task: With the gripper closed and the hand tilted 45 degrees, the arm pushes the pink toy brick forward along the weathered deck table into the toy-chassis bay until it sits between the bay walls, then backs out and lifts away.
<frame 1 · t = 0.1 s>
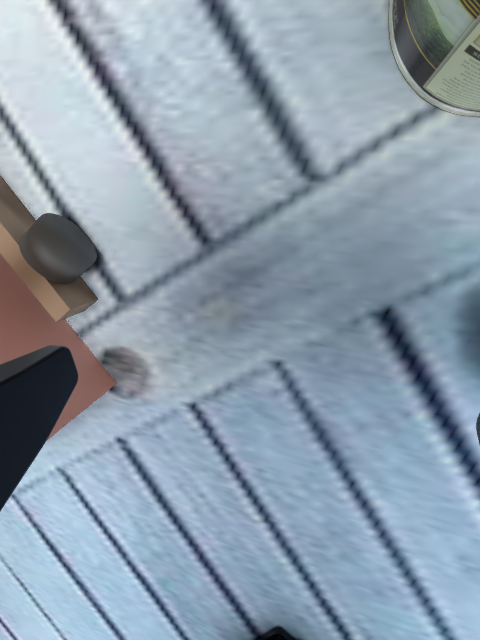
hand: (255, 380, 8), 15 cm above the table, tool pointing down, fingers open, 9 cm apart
pink toy brick: (16, 339, 29), on the table
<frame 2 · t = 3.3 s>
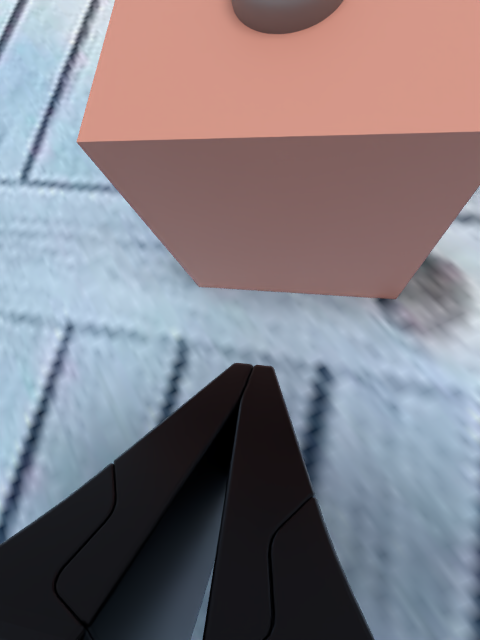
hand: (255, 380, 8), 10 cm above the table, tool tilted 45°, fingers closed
pink toy brick: (304, 167, 20), on the table
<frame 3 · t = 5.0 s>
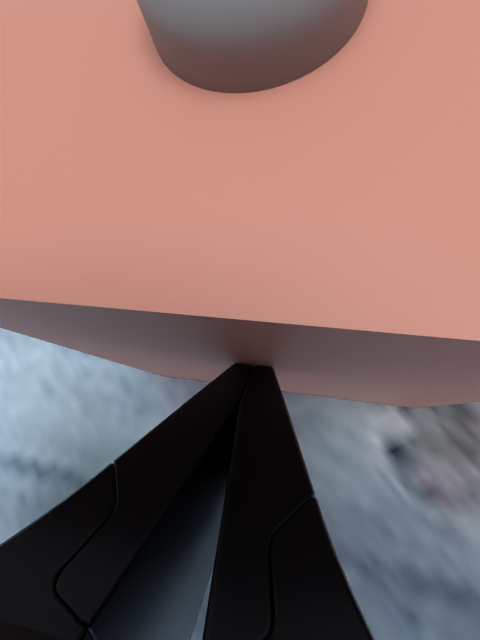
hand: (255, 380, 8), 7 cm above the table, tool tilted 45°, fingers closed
pink toy brick: (298, 221, 16), on the table, touching gripper
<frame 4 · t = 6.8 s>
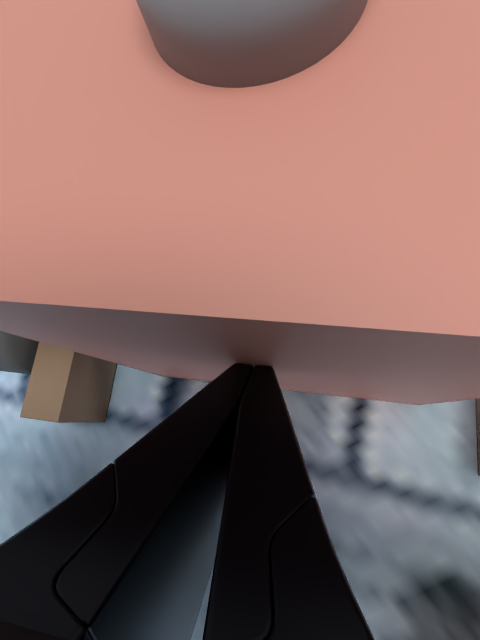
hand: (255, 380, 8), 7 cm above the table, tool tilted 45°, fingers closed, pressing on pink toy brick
chassis bay: (292, 229, 16), on the table
pink toy brick: (297, 218, 16), resting in chassis bay, touching gripper
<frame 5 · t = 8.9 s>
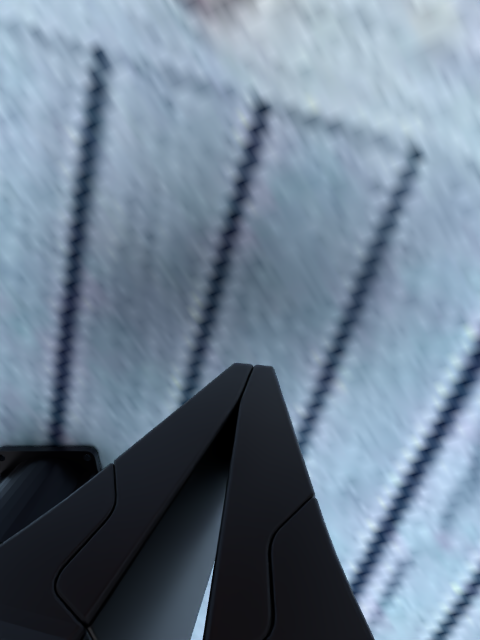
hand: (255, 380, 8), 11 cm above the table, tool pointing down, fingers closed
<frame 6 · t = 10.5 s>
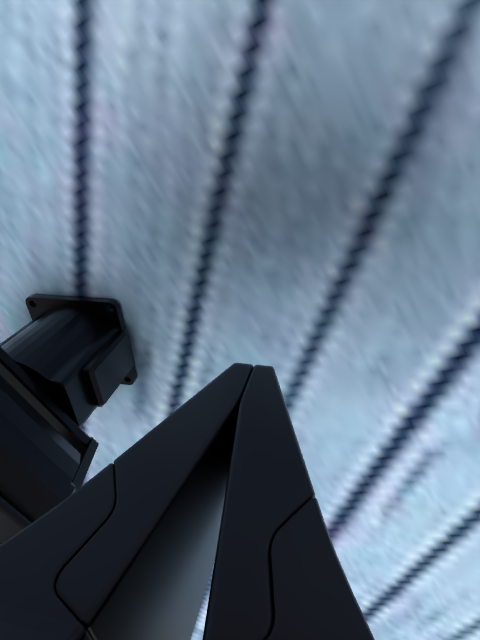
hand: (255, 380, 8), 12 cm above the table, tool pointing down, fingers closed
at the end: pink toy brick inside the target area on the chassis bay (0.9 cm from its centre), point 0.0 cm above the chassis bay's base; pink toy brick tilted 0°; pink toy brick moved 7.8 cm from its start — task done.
